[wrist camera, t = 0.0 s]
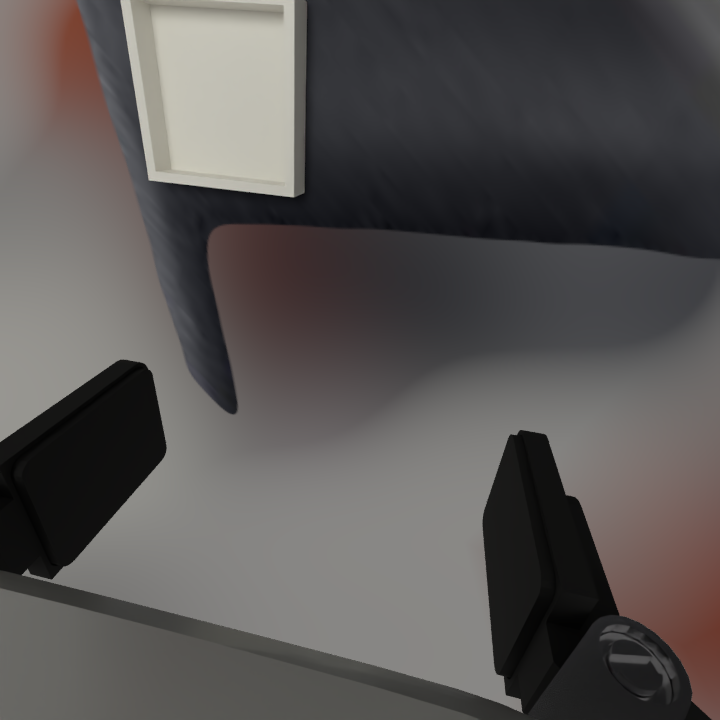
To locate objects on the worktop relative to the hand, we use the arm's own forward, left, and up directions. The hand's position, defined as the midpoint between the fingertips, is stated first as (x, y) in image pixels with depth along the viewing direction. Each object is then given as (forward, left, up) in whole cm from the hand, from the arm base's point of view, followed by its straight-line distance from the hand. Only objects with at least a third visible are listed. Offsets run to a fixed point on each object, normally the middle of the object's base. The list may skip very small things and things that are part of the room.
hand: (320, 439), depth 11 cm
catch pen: (-8, -17, -31) cm, 36 cm away
